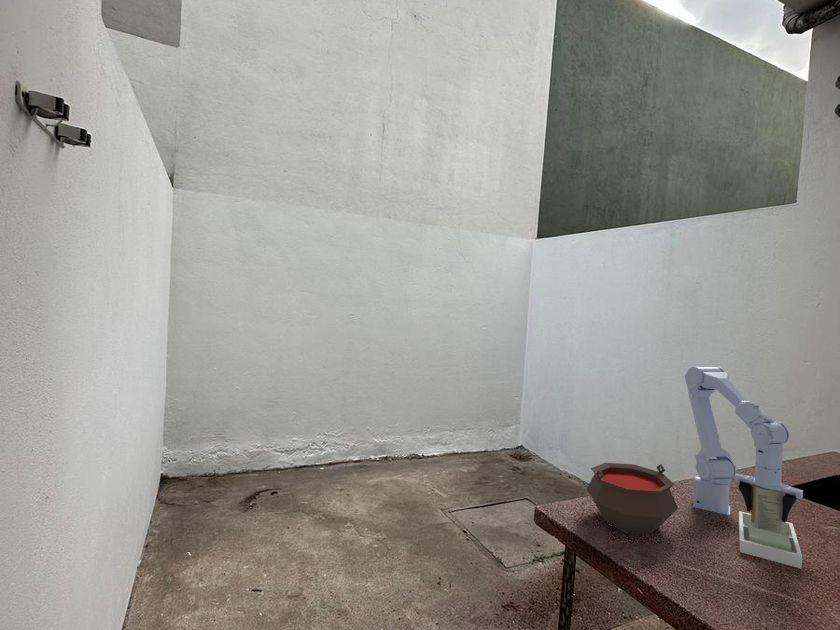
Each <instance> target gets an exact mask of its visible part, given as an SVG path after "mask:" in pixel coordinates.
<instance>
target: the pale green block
mask: <svg viewBox="0 0 840 630" xmlns="http://www.w3.org/2000/svg"><path fill="white" fill-rule="evenodd" d="M749 541H750V542H754V543H758V544H762V545H766V546H770V547H774V548H777V549H781V550H785V551H789V552H790V549H791V544H790V540H789V536H788V535H784V534H780V533H775V532H771V531H767V530H763V529H759V528H755V527H751V526H749Z"/></svg>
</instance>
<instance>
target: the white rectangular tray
mask: <svg viewBox="0 0 840 630" xmlns="http://www.w3.org/2000/svg"><path fill="white" fill-rule="evenodd" d="M749 526H751V513H748V512H745V511H740V510H739V511H738V538H739V541H738V542H739V552H740V553H742V554H745V555H749V556H752V557H757V558H760V559H764V560H768V561H772V562H775V563H778V564H782V565H787V566H790V567H794V568H798V569H799V570H802V569H803V555H802V551H801V548H800V544H799V541H798V538H797V534H796V531H795V528H794V524H793V523H792V522H789V521H786V522H785V523H784V522H783V525H782V534H784V535H788V536H789V540H790V544H791V549H790V552H789V551H785V550H781V549H777V548H774V547H770V546H766V545H762V544H758V543H754V542H750V541H749ZM751 527H752V526H751Z"/></svg>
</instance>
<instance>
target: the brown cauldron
mask: <svg viewBox="0 0 840 630" xmlns="http://www.w3.org/2000/svg"><path fill="white" fill-rule="evenodd" d="M656 469H657V470H654V469H650V468H647V467H644V466H641V465H637V464H634V463H616V462H603V463H601V464H598V465H596V466H593V467H591V468H590V470H591V472H592V473H593V476H592V478H591V480H590V481H589V484H588V485H587V487H586V491H587V492H588V494H589V495H590V497H591V499H592V501H593V502H594V504H595V506H596V507H597V509H598V511H599V512H600V514H601V515H602V517H603V518H604V521H605V522H606V523H607V525H608V524H610V525H612V526H614V527H616V528H618V529H620V530H619V531H621V530H623V531H625V532H624V533H626V532H627V533H626V534H631V533H637V534H636V535H644V534H646V535H647V536H648V535H650V534H652V533H653V532H655V531H657V530H658V529H659V528H660V527H661V526H662V525H663V524H664V523H665V522H666V521H667V520H668V519H669V518H670V517H671V516H672V515H673V514H674V513H675V512H676V511H677V510H678V509H679V507H678V504H677V502H676V501H675V498H674V496H673V493H672V491H671V488H672V487H673V486H674V485H675V483H674V482H673V481H672V480H670V478H668V477H667V476H666V475H665V474H664V472H666V469H665V468H664V466H663V464H662V463H660V464H659V465H657V466H656ZM614 527H613V528H614ZM616 528H615V529H616ZM618 529H617V530H618ZM623 531H622V532H623ZM646 535H645V536H646Z"/></svg>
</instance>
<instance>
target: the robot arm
mask: <svg viewBox="0 0 840 630" xmlns="http://www.w3.org/2000/svg"><path fill="white" fill-rule="evenodd" d="M684 378H685V379H684V380H685V383H686V387H687V392H688V398H689V402H690V406H691V410H692V414H693V415H692V416H693V418H694V423H695V427H696V431H697V434H698V440H699V444H700V447H701V448H700V450H699V451H698V452H697V453H696V454H695V457H694V458H695V470H696V472H697V475H698V476H697V475H695V476H694V477H693V479H694V481H693V493H692V500H693V502H692V503H693V505H692V507H693V508H697V509H701V510H703V511H709V512H713V513H717V514H720V515H721V514H722V515H726V516H731V505H729V503H730V483H732V481H733V479H734V478H735V479H734V482H736V483H738V486H737V488H738V490H739V491H740V493H741V495H742V498H743V501H744V503H745V507H746V512H751V505H752V486H753V484H754V485H757V486H760V487H763V488H767V489H772V490H777V491H782V492H783V497H782V502H783V513H782V522H784V523H785V522H788V517H789V514H790V512H791V509H792V508H793V506H794V504H795V503H796V501H797V500H798V499H799V500H802V499H803V498H804V490H803V489H799V488H796V487H793V486H790V485H788V484H784V483H782V473H783V471H782V469H783V455H784V454H783V453H784V452H783V449H784V444H785V443H788V441H789V438H790V432H789V430H788V428H787V427H786V426H785V424H784V423H783V422H780V421H775V419H772V418H771V416H768V414H767V413H766V412H765V411H763V409H762V408H761V407H760V404H759V403H757V402H755V401H752V400H747V399H746V398H745V397H744V396H743V395H742V393H741V392H740V391H739V390H738V388H737V387H736V386H735V385H734V383H732V382H731V381H730V380H729V373H727V372H726V371H725V370H724V369H723V368H722V367H721V366H691V367H689V368H688V369H687V371H686V373H685V374H684ZM716 391H718V393H719V394H721V395H722V397H724V398H725V399H726V400H727V401H728V402H729V403H730V404H731V405H732V406H733V407H735V409H734V411H735V414H736V415H737V417H739V419H740V420H741V421H742V422H743V423H744V424H745V426H746V427H748V428H749V429H750V436H751V438H752V440H753V442H754V444H753V446H754V448H755V463H754V464H755V465H754V466H755V467H754V476H752V475H745V474H741V473H738V471H737V466H736V464H735V463H734V461H733V459H732V457H731V453H730V452H728V451H727V450H725V448H723V447H722V443H721V440H720V435H719V432H718V428H717V424H716V420H715V416H714V412H713V408H712V404H711V400H710V397H711V395H712V394H714V393H715V392H716Z"/></svg>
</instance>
